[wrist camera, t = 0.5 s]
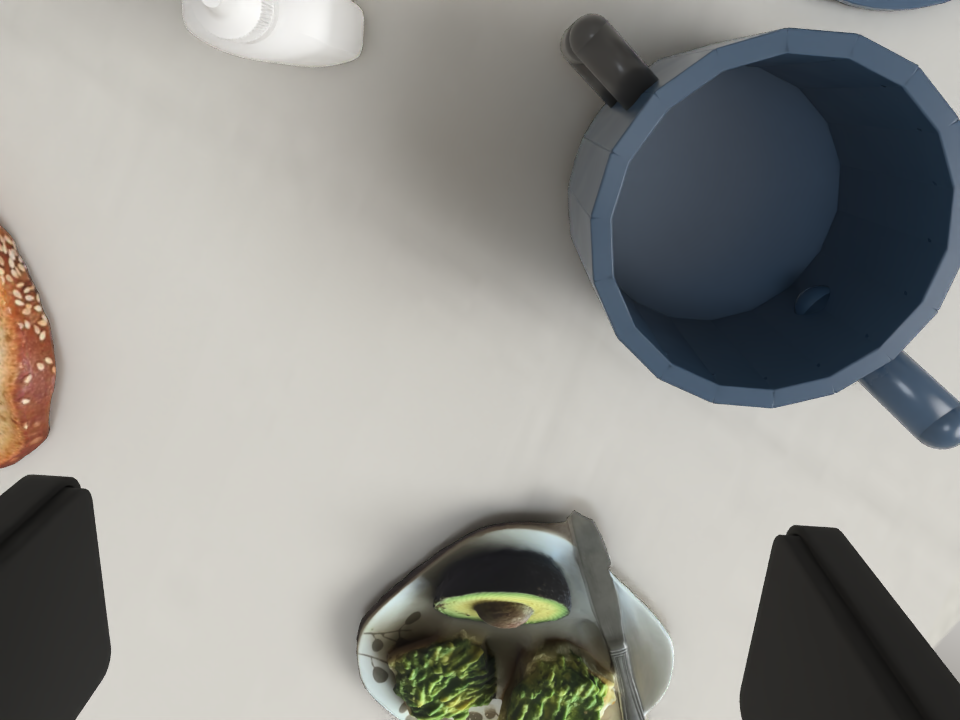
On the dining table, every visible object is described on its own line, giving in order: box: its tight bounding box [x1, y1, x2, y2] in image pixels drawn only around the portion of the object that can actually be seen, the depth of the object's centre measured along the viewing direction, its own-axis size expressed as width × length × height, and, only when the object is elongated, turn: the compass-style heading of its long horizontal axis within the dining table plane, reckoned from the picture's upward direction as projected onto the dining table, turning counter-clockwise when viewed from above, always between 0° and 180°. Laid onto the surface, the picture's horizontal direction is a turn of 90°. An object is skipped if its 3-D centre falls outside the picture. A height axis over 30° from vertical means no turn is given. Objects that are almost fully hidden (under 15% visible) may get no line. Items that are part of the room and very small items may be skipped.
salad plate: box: [356, 510, 674, 720], centre depth 44 cm, size 19×18×5 cm
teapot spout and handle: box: [560, 14, 960, 449], centre depth 32 cm, size 2×23×8 cm, turn 45°
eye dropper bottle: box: [182, 0, 364, 67], centre depth 29 cm, size 4×6×12 cm
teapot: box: [568, 28, 960, 408], centre depth 32 cm, size 14×14×10 cm
